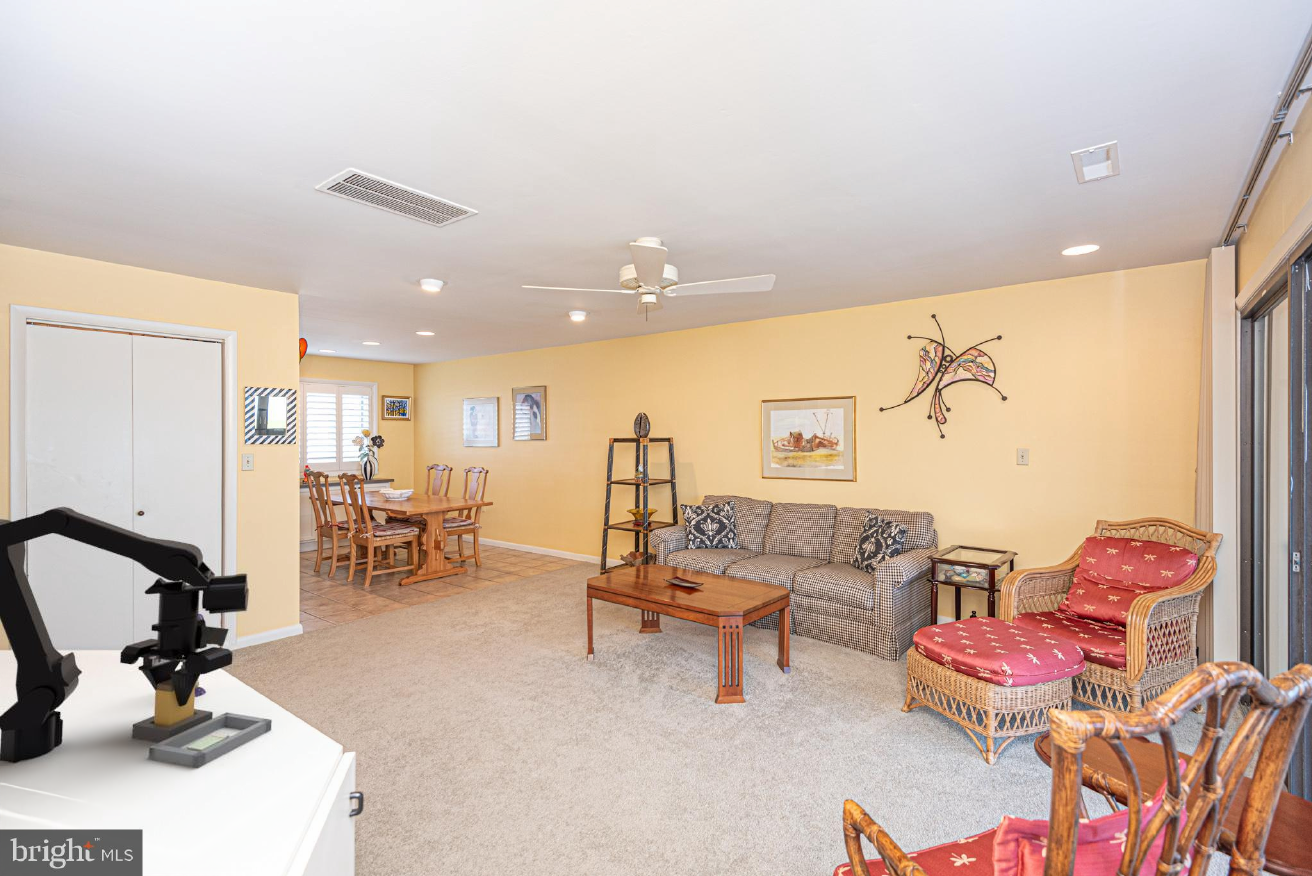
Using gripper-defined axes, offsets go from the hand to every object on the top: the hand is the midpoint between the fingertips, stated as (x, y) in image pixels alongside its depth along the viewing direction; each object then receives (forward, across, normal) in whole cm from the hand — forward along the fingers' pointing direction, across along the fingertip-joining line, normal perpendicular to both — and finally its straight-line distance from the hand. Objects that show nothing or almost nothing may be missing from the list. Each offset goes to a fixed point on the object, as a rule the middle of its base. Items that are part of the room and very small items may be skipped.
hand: (174, 704), depth 111 cm
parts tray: (+5, -10, +2) cm, 12 cm away
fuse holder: (+5, 0, 0) cm, 5 cm away
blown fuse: (+3, 0, 0) cm, 3 cm away
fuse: (+5, -12, +4) cm, 14 cm away
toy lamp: (+6, +12, -13) cm, 19 cm away
